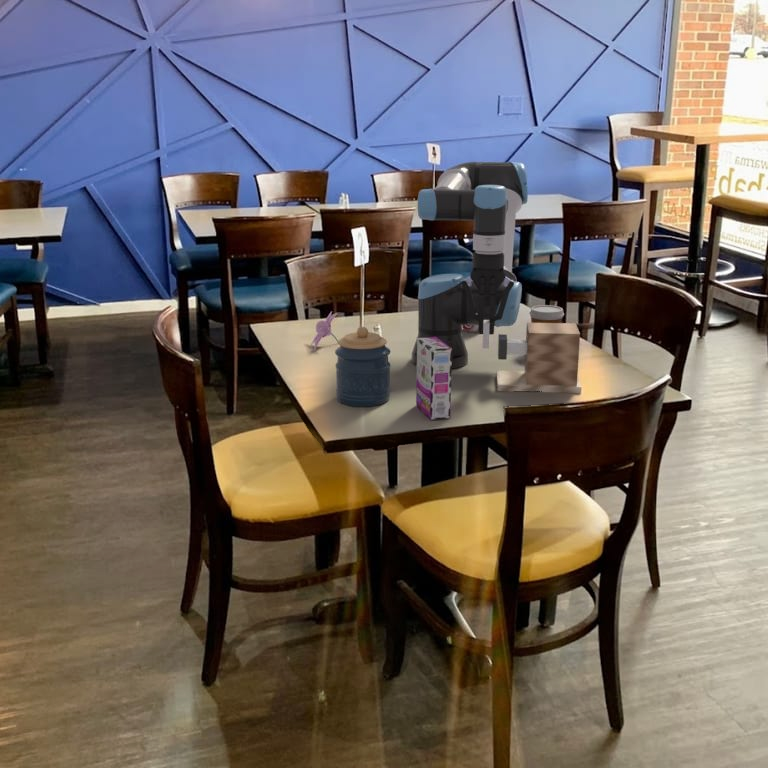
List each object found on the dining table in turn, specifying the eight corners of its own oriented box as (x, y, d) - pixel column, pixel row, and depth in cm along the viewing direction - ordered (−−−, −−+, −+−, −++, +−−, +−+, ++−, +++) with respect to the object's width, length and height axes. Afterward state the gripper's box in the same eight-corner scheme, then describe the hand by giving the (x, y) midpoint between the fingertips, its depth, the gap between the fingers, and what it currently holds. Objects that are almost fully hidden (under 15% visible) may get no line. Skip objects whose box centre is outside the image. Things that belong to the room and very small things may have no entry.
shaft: (498, 359, 224) (498, 339, 223) (497, 353, 229) (498, 334, 228) (562, 360, 223) (563, 340, 222) (560, 355, 228) (561, 335, 226)
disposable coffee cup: (552, 357, 251) (554, 314, 247) (521, 351, 256) (523, 309, 253) (568, 349, 258) (570, 307, 254) (537, 344, 263) (539, 303, 260)
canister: (401, 401, 217) (401, 328, 211) (354, 411, 210) (352, 337, 205) (371, 386, 227) (371, 317, 222) (326, 396, 221) (324, 325, 215)
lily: (320, 340, 272) (304, 315, 267) (355, 327, 268) (340, 301, 264) (314, 364, 263) (297, 338, 258) (350, 350, 259) (334, 324, 254)
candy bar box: (452, 418, 205) (453, 348, 200) (430, 421, 204) (431, 350, 199) (435, 403, 215) (436, 335, 210) (415, 405, 214) (415, 337, 209)
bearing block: (497, 391, 223) (499, 333, 219) (496, 376, 235) (498, 321, 230) (581, 393, 222) (584, 335, 217) (575, 378, 233) (579, 322, 228)
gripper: (460, 253, 216) (458, 350, 223) (516, 254, 215) (512, 351, 222) (461, 248, 223) (459, 342, 230) (515, 249, 222) (512, 343, 229)
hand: (485, 346), depth 226 cm, fingers closed
